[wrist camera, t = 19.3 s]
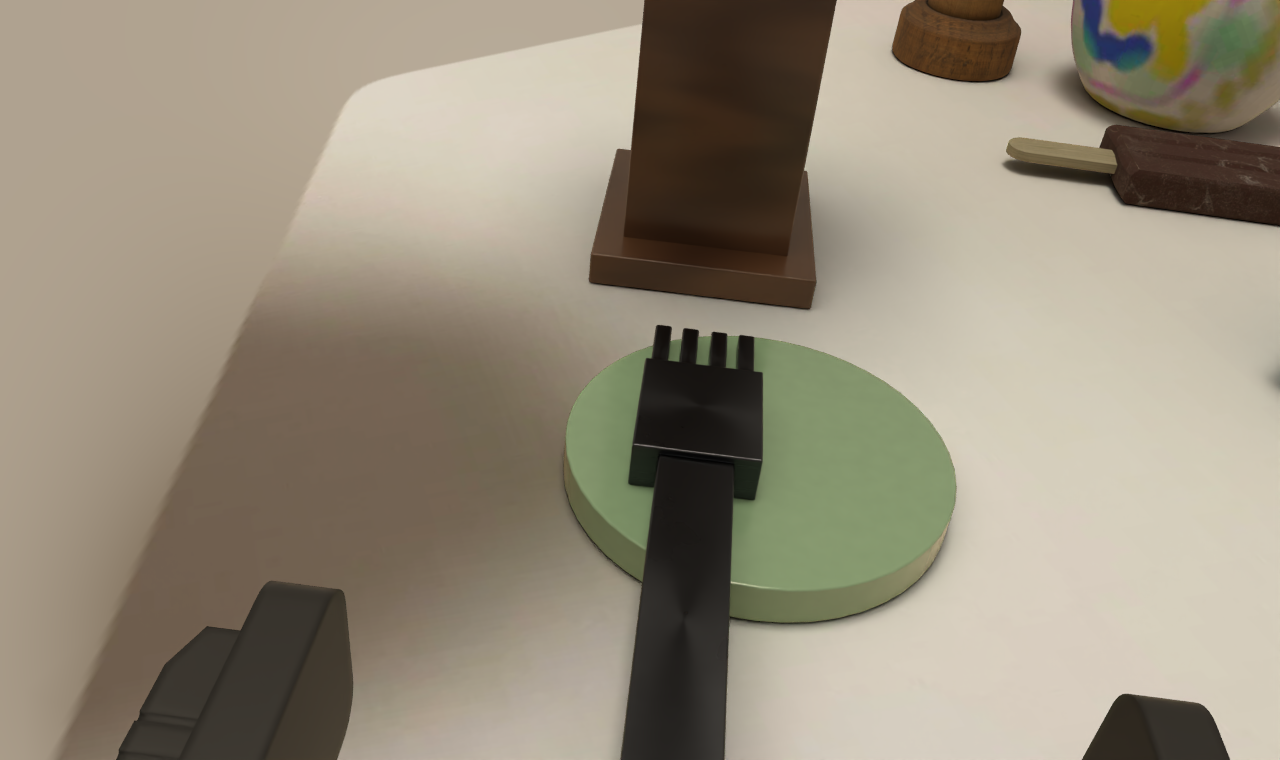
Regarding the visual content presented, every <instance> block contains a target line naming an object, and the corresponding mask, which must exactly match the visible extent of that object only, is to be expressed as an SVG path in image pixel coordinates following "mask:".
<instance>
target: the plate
mask: <svg viewBox="0 0 1280 760" xmlns="http://www.w3.org/2000/svg"><path fill="white" fill-rule="evenodd" d="M738 338H739V336H727V356H726V368H733V369H736V351H737V344H738ZM754 338H755V337H754ZM681 341H682V339H679V340H673V341H670V348H669V356H668V360H669V361H677V362H679V359H680V350H681ZM710 341H711V336H705V337H698V348H697V359H696V364H701V365H708V363H709V349H710ZM652 351H653V346H650V347H647V348H644V349H642V350H639V351H636V352H634V353H632V354H630V355H628V356H625V357H623V358H621V359H619V360H618V361H616V362H614V363H613V364H611V365H610V366H608V367H607V368H605V369H604V370H603V371H601V372H600V373H599V374H598V375H597V376H596V377H594V378H593V379H592V380H591V381H590V382H589V383H588V385H587V386H586V387H585V388H584V389H583V391H582V392H581V393H580V395H579V396H578V398H577V400H576V402H575V403H574V405H573V407H572V409H571V412H570V415H569V418H568V421H567V427H566V435H565V448H564V464H563V471H564V483H565V488H566V492H567V495H568V499H569V502H570V504H571V507H572V509H573V511H574V513H575V515H576V517H577V519H578V521H579V522H580V524H581V525H582V527H583V528H584V530H585V531H586V533H587V534H588V536H589V537H590V538H591V540H592V541H593V542H594V543H595V544H596V545H597V546H598V547H599V548H600V549H601V550H602V551H603V552H604V554H605V555H606V556H608V557H609V558H610V559H611V560H612V561H614V562H615V563H616V564H617V565H618V566H620V567H621V568H622V569H623V570H624V571H626V572H627V573H629V574H630V575H632V576H633V577H635V578H636V579H638V580H639V581H641V582H642V580H643V572H644V564H645V555H646V547H647V539H648V531H649V523H650V515H651V507H652V499H653V491H654V487H646V486H638V485H631V484H629V483H628V477H629V468H630V459H631V450H632V442H633V435H634V429H635V422H636V416H637V409H638V403H639V396H640V390H641V383H642V377H643V371H644V364H645V359H646V358H651V357H652ZM754 371H757V372H762V373H763V463H762V468H761V473H760V478H759V483H758V488H757V493H756V498H755V500H747V499H740V498H734V501H733V530H732V559H731V587H730V617H736V618H742V619H747V620H753V621H765V622H778V623H796V622H815V621H822V620H830V619H837V618H841V617H845V616H849V615H853V614H857V613H861V612H863V611H866V610H868V609H871V608H873V607H876V606H878V605H881V604H883V603H885V602H887V601H889V600H890V599H892V598H894V597H896V596H897V595H899V594H901V593H903V592H904V591H905V590H906V589H907V588H909V587H910V586H911V585H912V584H914V583H915V582H916V581H917V580H918V579H920V577H921V576H922V575H923V574H924V573H925V572H926V570H927V569H928V568H929V567H930V566H931V565H932V563H933V561H934V559H935V557H936V556H937V554H938V552H939V550H940V548H941V545H942V542H943V540H944V537H945V534H946V531H947V528H948V525H949V522H950V519H951V516H952V513H953V510H954V506H955V501H956V489H957V486H956V478H955V470H954V467H953V464H952V460H951V457H950V454H949V452H948V450H947V448H946V446H945V444H944V442H943V440H942V438H941V436H940V435H939V433H938V432H937V431H936V429H935V428H934V426H933V425H932V424H931V422H930V421H929V420H928V419H927V418H926V417H925V416H924V414H923V413H922V412H921V411H920V410H919V409H918V408H917V407H916V406H915V405H914V404H913V403H911V402H910V401H909V400H908V399H907V398H906V397H905V396H903V395H902V394H901V393H900V392H898V391H897V390H895V389H894V388H893V387H891V386H890V385H889V384H887V383H886V382H884V381H883V380H881V379H879V378H877V377H876V376H874V375H872V374H871V373H869V372H867V371H865V370H863V369H861V368H859V367H857V366H855V365H853V364H851V363H849V362H847V361H844V360H842V359H839V358H837V357H834V356H832V355H829V354H826V353H823V352H820V351H817V350H814V349H811V348H807V347H804V346H800V345H795V344H791V343H787V342H783V341H776V340H770V339H764V338H755V348H754Z"/></svg>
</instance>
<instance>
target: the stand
mask: <svg viewBox="0 0 1280 760" xmlns="http://www.w3.org/2000/svg"><path fill="white" fill-rule="evenodd" d="M836 1H837V0H645V1H644V12H643V23H642V34H641V45H640V56H639V67H638V78H637V89H636V100H635V111H634V122H633V133H632V145H631V150H625V149H617V151H616V155H615V159H614V163H613V167H612V171H611V175H610V179H609V183H608V187H607V191H606V195H605V199H604V203H603V207H602V212H601V216H600V220H599V224H598V228H597V232H596V236H595V240H594V244H593V248H592V252H591V259H590V273H589V281H590V282H593V283H601V284H610V285H618V286H626V287H634V288H643V289H651V290H659V291H667V292H675V293H684V294H692V295H700V296H708V297H716V298H725V299H733V300H741V301H749V302H758V303H766V304H774V305H782V306H790V307H799V308H807V309H810V308H811V305H812V300H813V295H814V291H815V286H816V271H815V259H814V247H813V235H812V222H811V210H810V198H809V186H808V174H807V171H804V168H805V162H806V157H807V152H808V147H809V142H810V136H811V131H812V126H813V121H814V115H815V110H816V105H817V100H818V95H819V89H820V84H821V79H822V74H823V69H824V63H825V58H826V53H827V48H828V43H829V37H830V32H831V27H832V22H833V16H834V11H835V6H836Z"/></svg>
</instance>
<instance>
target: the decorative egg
mask: <svg viewBox="0 0 1280 760" xmlns="http://www.w3.org/2000/svg"><path fill="white" fill-rule="evenodd" d="M1071 38H1072V48H1073V54H1074V60H1075V63H1076V66H1077V69H1078V73H1079V76H1080V79H1081V81H1082V83H1083V86H1084V88H1085V90H1086V91H1087V92H1088V93H1089V95H1090V96H1091V97H1092V98H1093V99H1094V100H1096V101H1097V102H1098V103H1100V104H1101V105H1103V106H1104V107H1106V108H1108V109H1110V110H1112V111H1114V112H1116V113H1118V114H1120V115H1122V116H1125V117H1127V118H1130V119H1133V120H1135V121H1138V122H1142V123H1145V124H1148V125H1153V126H1157V127H1161V128H1166V129H1170V130H1176V131H1183V132H1197V133H1215V132H1224V131H1229V130H1233V129H1235V128H1238V127H1240V126H1242V125H1244V124H1246V123H1247V122H1249V121H1251V120H1252V119H1254V118H1255V117H1257V116H1258V115H1260V114H1261V113H1263V112H1264V111H1266V110H1267V109H1269V108H1270V107H1271V106H1273V105H1274V104H1275V103H1276V102H1277V101H1279V100H1280V0H1073V7H1072V16H1071Z"/></svg>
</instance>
